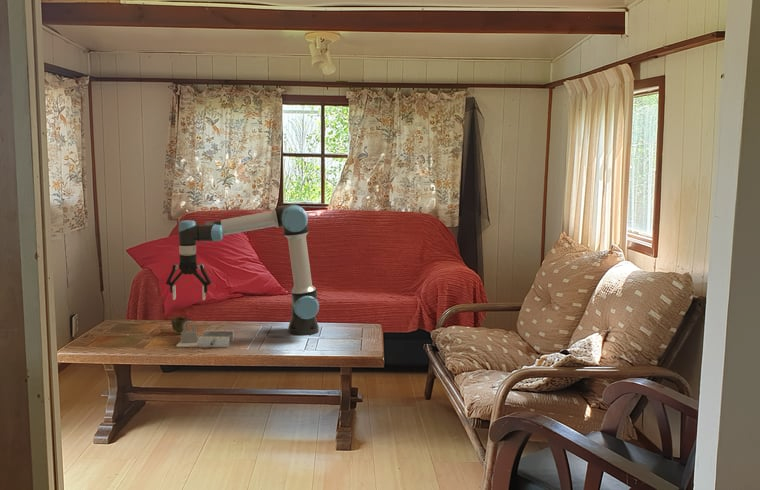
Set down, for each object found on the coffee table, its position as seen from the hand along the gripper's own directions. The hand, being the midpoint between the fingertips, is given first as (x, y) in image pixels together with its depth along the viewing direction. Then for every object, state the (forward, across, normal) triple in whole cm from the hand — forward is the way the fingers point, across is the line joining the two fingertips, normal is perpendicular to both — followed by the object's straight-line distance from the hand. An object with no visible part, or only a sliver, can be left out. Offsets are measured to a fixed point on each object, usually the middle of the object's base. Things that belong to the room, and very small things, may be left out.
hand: (189, 299), depth 318 cm
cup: (+21, +9, -16) cm, 28 cm away
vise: (+21, -12, +2) cm, 24 cm away
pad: (+21, 0, 0) cm, 21 cm away
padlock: (+20, 0, 0) cm, 20 cm away
